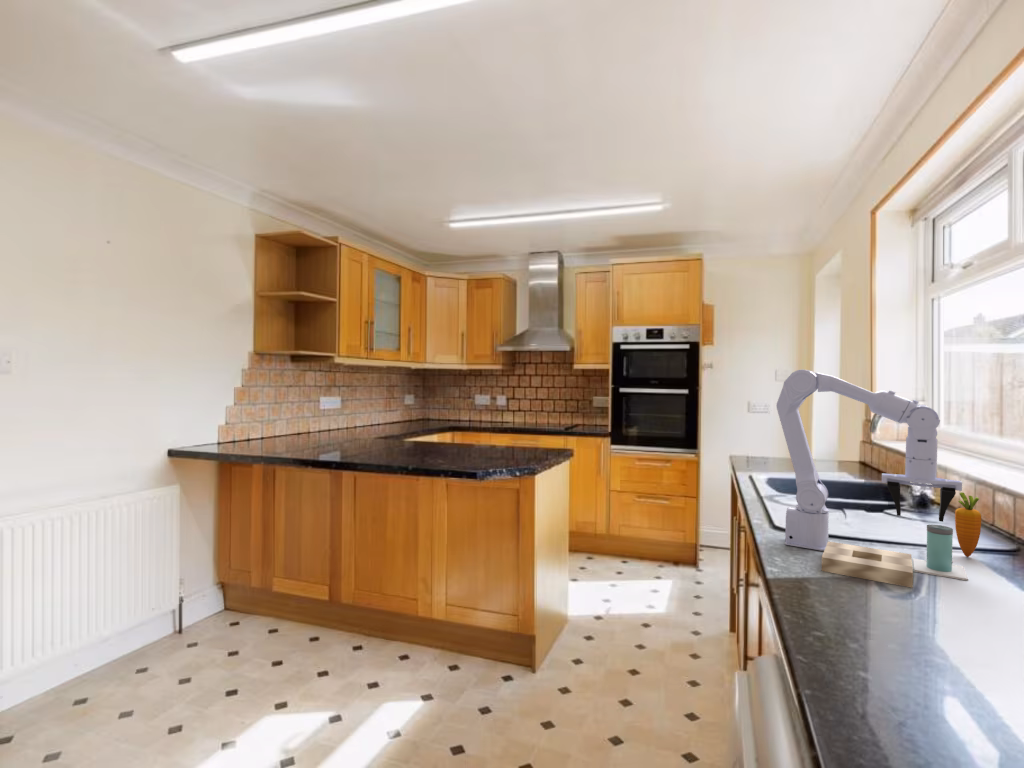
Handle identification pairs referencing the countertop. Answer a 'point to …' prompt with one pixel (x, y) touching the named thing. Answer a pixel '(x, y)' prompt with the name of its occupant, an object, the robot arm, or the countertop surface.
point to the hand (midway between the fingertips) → (919, 517)
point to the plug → (939, 548)
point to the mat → (956, 572)
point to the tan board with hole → (868, 563)
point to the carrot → (967, 525)
